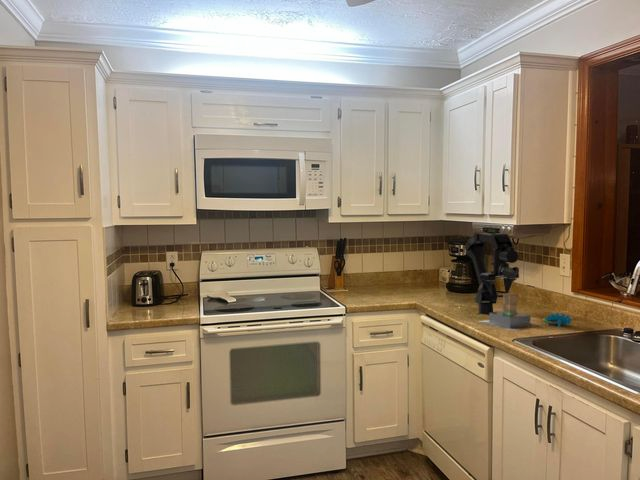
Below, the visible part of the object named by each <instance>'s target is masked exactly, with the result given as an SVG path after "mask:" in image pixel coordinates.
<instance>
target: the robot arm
mask: <svg viewBox="0 0 640 480" xmlns="http://www.w3.org/2000/svg"><path fill="white" fill-rule="evenodd" d="M486 243H489V244H490V245H491V246H493V247H491V249H490V250H492V251H493V252H492V253H493V257H492V259H493V261H492V262H491V265H492V270H491V272H487V269H486V266H485V263H484V262H485V261H484V259H483V254H484V248H485V246H486ZM513 245H514V244H513V242H512V240H511V238H510V236H509V234H508V233H486V232H485V231H484V232H475V233H474V234H473V236H471V237H470V238H469V239H467V242H466V243H465V245H464V249H465V251H466V255H467V256H468V257H469V258H470V259H471V260H472V263H473V266H474V270H475V274H476V278H477V280H478V284H479V287H478V289H477V295H476V296H475V298H474V301H475V302H474V303H476V304H477V305H478V313H476V314H475V316H477V315H487V316H489V313H491V312H494V306H493V304H495V305H496V304H497V299H498V296H499V295H498V291H497V287H496V285H495V283H496V279H498V278H502V279H503V284H504V285H503V287H504V292H505V293H510V289H511V287H512V285H513V282H515V281H517V279H519V278H520V268H519V267H517V266H513V267H510V264H513V263H516V262H517V261H518V260H519V254H518V252H517V251H516V250H515V247H514V246H513Z"/></svg>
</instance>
